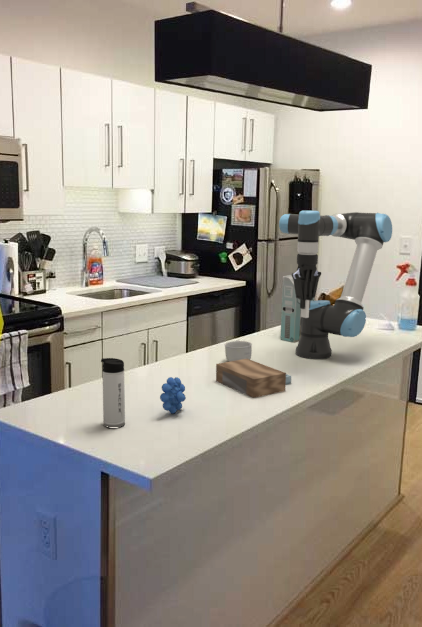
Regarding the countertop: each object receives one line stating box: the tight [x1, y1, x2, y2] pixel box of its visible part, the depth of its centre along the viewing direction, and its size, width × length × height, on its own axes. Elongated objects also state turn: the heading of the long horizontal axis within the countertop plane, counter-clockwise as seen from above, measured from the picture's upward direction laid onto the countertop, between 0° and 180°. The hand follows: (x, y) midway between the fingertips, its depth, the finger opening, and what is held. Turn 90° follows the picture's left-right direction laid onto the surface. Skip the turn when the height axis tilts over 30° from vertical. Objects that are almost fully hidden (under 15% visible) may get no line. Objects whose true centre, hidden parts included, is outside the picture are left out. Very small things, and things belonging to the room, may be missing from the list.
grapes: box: [159, 376, 187, 414], centre depth 191 cm, size 12×7×12 cm, turn 146°
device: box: [279, 274, 316, 343], centre depth 291 cm, size 16×8×30 cm, turn 140°
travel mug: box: [100, 357, 126, 428], centre depth 181 cm, size 6×7×20 cm
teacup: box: [224, 339, 253, 362], centre depth 252 cm, size 14×11×8 cm
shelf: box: [215, 359, 287, 399], centre depth 221 cm, size 14×22×6 cm, turn 35°
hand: (304, 317), depth 231 cm, fingers closed
